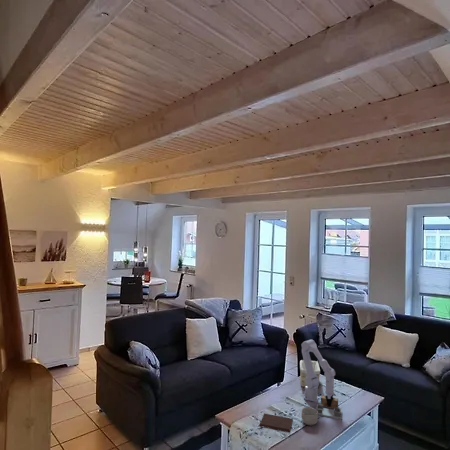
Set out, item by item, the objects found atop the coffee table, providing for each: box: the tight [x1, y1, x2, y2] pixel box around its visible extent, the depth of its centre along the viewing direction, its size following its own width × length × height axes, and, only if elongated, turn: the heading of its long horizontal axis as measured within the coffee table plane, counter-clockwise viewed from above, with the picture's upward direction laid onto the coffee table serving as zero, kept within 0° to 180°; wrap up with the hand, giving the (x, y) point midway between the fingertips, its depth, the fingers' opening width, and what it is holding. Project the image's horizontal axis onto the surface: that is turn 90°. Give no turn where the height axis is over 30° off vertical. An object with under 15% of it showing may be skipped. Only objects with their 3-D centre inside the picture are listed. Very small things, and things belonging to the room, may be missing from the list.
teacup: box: [300, 406, 319, 426], centre depth 234 cm, size 14×11×8 cm
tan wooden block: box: [320, 395, 339, 410], centre depth 256 cm, size 12×4×6 cm, turn 68°
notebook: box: [259, 413, 294, 433], centre depth 232 cm, size 15×20×2 cm
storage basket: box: [299, 359, 321, 389], centre depth 297 cm, size 24×16×15 cm
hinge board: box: [315, 403, 343, 420], centre depth 246 cm, size 18×10×4 cm, turn 70°
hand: (329, 404), depth 256 cm, fingers closed on tan wooden block, 4 cm apart
